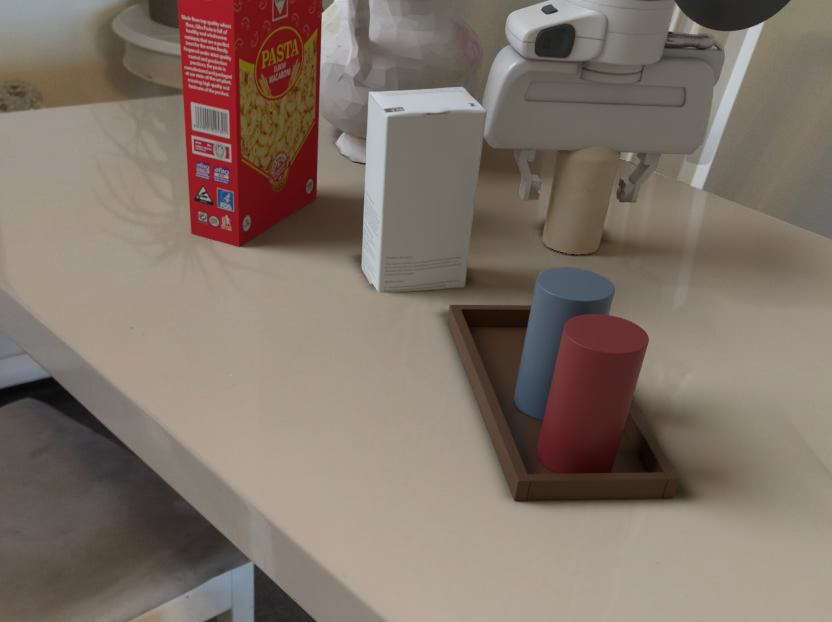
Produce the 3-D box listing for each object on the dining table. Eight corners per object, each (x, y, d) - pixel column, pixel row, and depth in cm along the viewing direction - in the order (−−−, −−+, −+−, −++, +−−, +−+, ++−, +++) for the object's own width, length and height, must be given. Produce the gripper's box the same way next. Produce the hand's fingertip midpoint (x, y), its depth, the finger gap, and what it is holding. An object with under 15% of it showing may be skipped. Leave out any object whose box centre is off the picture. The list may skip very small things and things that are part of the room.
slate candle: (574, 385, 73) (602, 267, 67) (593, 422, 69) (625, 301, 63) (506, 385, 72) (528, 266, 66) (522, 422, 69) (547, 300, 62)
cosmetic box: (444, 266, 89) (467, 84, 78) (466, 295, 85) (493, 107, 74) (355, 270, 87) (366, 85, 77) (373, 300, 83) (387, 109, 72)
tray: (571, 329, 81) (576, 305, 80) (671, 505, 63) (680, 478, 62) (446, 329, 80) (449, 304, 78) (512, 508, 62) (518, 481, 61)
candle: (538, 250, 92) (560, 137, 86) (544, 229, 96) (565, 119, 89) (597, 259, 92) (623, 145, 85) (600, 237, 96) (625, 127, 89)
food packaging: (239, 246, 89) (231, -92, 72) (191, 233, 91) (171, -101, 74) (316, 198, 99) (325, -110, 82) (271, 187, 101) (271, -118, 83)
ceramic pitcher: (453, 206, 102) (512, -83, 85) (272, 170, 103) (295, -125, 86) (467, 143, 118) (520, -112, 101) (310, 112, 118) (336, -148, 101)
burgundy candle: (600, 436, 68) (633, 313, 62) (623, 479, 64) (660, 353, 58) (528, 436, 67) (554, 313, 61) (546, 480, 64) (576, 353, 57)
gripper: (717, 25, 85) (671, 189, 95) (489, 14, 83) (465, 184, 92) (745, 44, 81) (694, 214, 90) (505, 33, 78) (478, 209, 88)
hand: (577, 199), depth 91 cm, fingers open, 8 cm apart
